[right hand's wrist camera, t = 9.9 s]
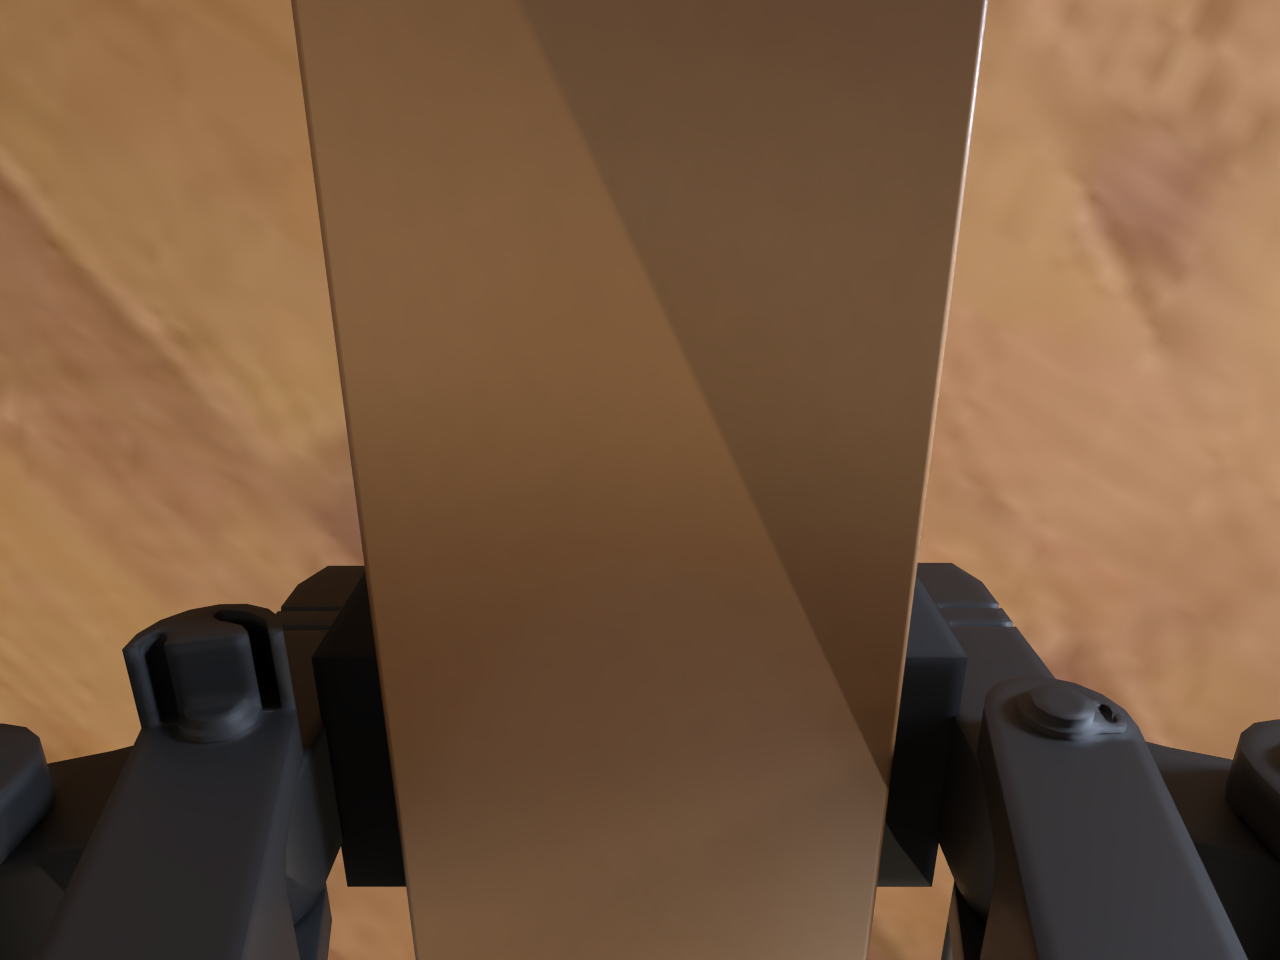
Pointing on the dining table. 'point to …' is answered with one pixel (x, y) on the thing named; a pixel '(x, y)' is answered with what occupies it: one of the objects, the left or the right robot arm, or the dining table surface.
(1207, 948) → the right robot arm
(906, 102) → the post
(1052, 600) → the dining table surface
